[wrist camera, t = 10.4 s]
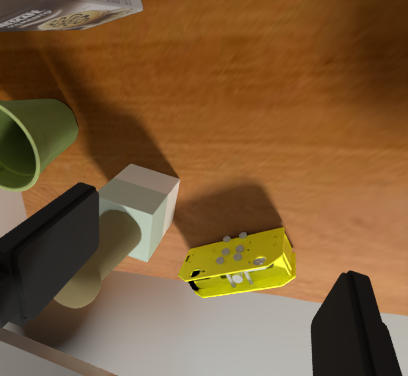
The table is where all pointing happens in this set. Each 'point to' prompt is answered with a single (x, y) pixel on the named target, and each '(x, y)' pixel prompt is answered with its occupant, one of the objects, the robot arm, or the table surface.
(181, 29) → the table surface
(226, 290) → the yellow toy chassis
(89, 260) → the cork
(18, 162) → the plant pot
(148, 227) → the block top
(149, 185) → the block bottom
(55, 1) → the coffee box
